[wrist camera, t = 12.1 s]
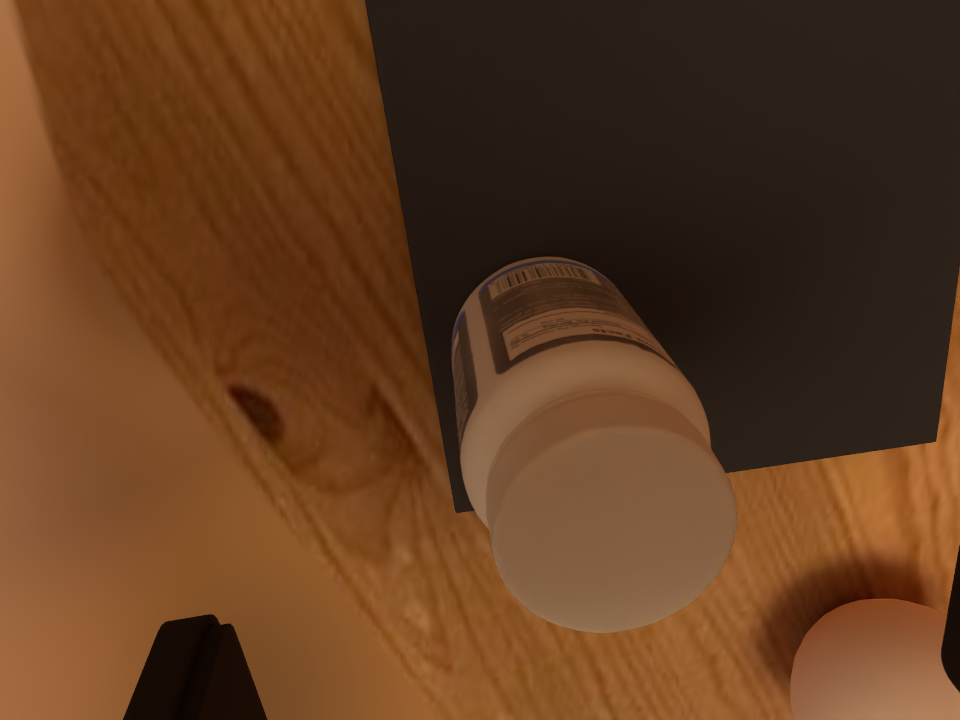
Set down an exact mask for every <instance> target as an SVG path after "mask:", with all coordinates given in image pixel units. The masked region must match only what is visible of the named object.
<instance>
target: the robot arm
mask: <svg viewBox="0 0 960 720" xmlns="http://www.w3.org/2000/svg"><path fill="white" fill-rule="evenodd" d="M941 660H942V664H943V667H944V670H945V672H946V674H947V676H948V678H949V680H950V681H951V682H952V684H953V685H954V686H955V688H956V689H957V690H958V691H959V692H960V546H959V552H958V557H957V563H956V568H955V574H954V580H953V585H952V591H951V597H950V602H949V608H948V614H947V619H946V625H945V630H944V636H943V642H942V647H941ZM123 720H267V717H266V715H265V712H264V709H263V706H262V703H261V701H260V698H259V695H258V693H257V690H256V687H255V684H254V681H253V679H252V676H251V673H250V670H249V668H248V665H247V662H246V659H245V657H244V654H243V651H242V648H241V645H240V643H239V640H238V637H237V635H236V632H235V629H234V627H233V626H232V625H231V624H224V625H220V623H219V622H218V619H217V618H216V617H215V616H214V615H211V614H209V615H203V616H197V617H191V618H185V619H179V620H173V621H168V622H165V623H164V624H163V625H162V626H161V627H160V629H159V631H158V633H157V635H156V638H155V640H154V643H153V646H152V648H151V651H150V653H149V656H148V658H147V661H146V663H145V666H144V668H143V671H142V673H141V676H140V678H139V681H138V683H137V686H136V688H135V691H134V693H133V696H132V698H131V701H130V703H129V706H128V708H127V711H126V713H125V716H124V718H123Z"/></svg>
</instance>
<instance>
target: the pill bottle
mask: <svg viewBox="0 0 960 720" xmlns="http://www.w3.org/2000/svg"><path fill="white" fill-rule="evenodd" d="M451 350H452V371H453V378H454V393H455V401H456V416H457V428H458V438H459V449H460V462H461V469H462V476H463V481H464V484H465V488H466V491H467V494H468V497H469V500H470V502H471V504H472V506H473V508H474V510H475V512H476V513H477V515H478V517H479V518H480V519H481V521H482V522H483V523H484V525H485V526H486V527H487V528H488V529H489V533H490V540H491V548H492V553H493V557H494V560H495V564H496V567H497V569H498V572H499V574H500V576H501V578H502V580H503V582H504V583H505V585H506V586H507V588H508V589H509V591H510V592H511V593H512V594H513V596H514V597H515V598H516V599H517V600H518V601H519V602H520V603H521V604H522V605H523V606H524V607H526V608H527V609H528V610H530V611H531V612H533V613H534V614H536V615H537V616H539V617H541V618H543V619H544V620H546V621H549V622H551V623H553V624H556V625H558V626H561V627H564V628H569V629H573V630H578V631H585V632H595V633H604V632H622V631H626V630H631V629H636V628H640V627H644V626H647V625H649V624H652V623H654V622H656V621H659V620H661V619H664V618H666V617H668V616H670V615H672V614H674V613H676V612H677V611H679V610H681V609H682V608H684V607H685V606H687V605H688V604H690V603H691V602H692V601H694V600H695V599H696V598H697V597H698V596H699V595H701V594H702V593H703V592H704V591H705V590H706V588H707V587H708V586H709V585H710V584H711V583H712V581H713V580H714V579H715V578H716V577H717V575H718V574H719V572H720V571H721V570H722V568H723V566H724V564H725V562H726V560H727V558H728V556H729V554H730V551H731V548H732V545H733V543H734V539H735V534H736V530H737V514H738V512H737V504H736V499H735V494H734V492H733V489H732V486H731V483H730V480H729V478H728V476H727V474H726V473H725V471H724V469H723V467H722V466H721V464H720V463H719V461H718V460H717V458H716V456H715V455H714V453H713V451H712V450H711V442H710V432H709V426H708V421H707V418H706V414H705V411H704V409H703V406H702V404H701V402H700V400H699V398H698V396H697V394H696V391H695V389H694V387H693V386H692V385H691V383H690V382H689V381H688V380H687V378H686V377H685V376H684V375H683V373H682V372H681V371H680V370H679V369H678V367H677V366H676V365H675V363H674V362H673V361H672V359H671V358H670V357H669V355H668V354H667V353H666V351H665V350H664V349H663V347H662V346H661V345H660V344H659V342H658V341H657V340H656V339H655V337H654V336H653V335H652V333H651V332H650V331H649V329H648V328H647V327H646V325H645V324H644V323H643V322H642V320H641V319H640V317H639V316H638V315H637V313H636V312H635V311H634V309H633V308H632V307H631V306H630V304H629V303H628V302H627V300H626V299H625V298H624V296H623V295H622V294H621V292H620V291H619V290H618V289H617V288H616V287H615V285H614V284H613V283H612V282H611V281H609V280H608V279H607V278H606V277H605V276H603V275H602V274H601V273H599V272H598V271H596V270H595V269H593V268H591V267H589V266H587V265H585V264H583V263H580V262H577V261H574V260H571V259H566V258H561V257H536V258H529V259H525V260H521V261H517V262H514V263H512V264H509V265H507V266H505V267H503V268H502V269H500V270H498V271H497V272H495V273H494V274H492V275H491V276H489V277H488V278H487V279H486V280H484V281H483V282H482V283H481V284H480V285H479V286H478V287H477V288H476V289H475V290H474V291H473V292H472V293H471V295H470V296H469V297H468V299H467V300H466V302H465V303H464V305H463V307H462V309H461V310H460V312H459V314H458V317H457V319H456V323H455V326H454V331H453V337H452V347H451Z"/></svg>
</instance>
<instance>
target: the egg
mask: <svg viewBox="0 0 960 720" xmlns="http://www.w3.org/2000/svg"><path fill="white" fill-rule="evenodd" d="M946 619H947V615H945V614H943V613H941V612H939V611H937V610H935V609H932V608H930V607H927V606H923V605H920V604H916V603H913V602H909V601H904V600H899V599H865V600H858V601H854V602H851V603H848V604H844V605H841V606H839V607H838V608H836V609H834V610H832V611H830V612H828V613H827V614H825V615H824V616H823V617H822V618H820V619H819V620H818V621H817V622H816V623H815V624H814V625H813V626H812V627H811V629H810V630H809V631H808V632H807V633H806V635H805V637H804V639H803V641H802V643H801V645H800V647H799V649H798V651H797V653H796V655H795V658H794V663H793V669H792V674H791V680H790V703H791V708H792V713H793V718H794V720H960V692H959V691H958V690H957V689H956V688H955V686H954V685H953V684H952V682H951V681H950V680H949V678H948V676H947V674H946V672H945V670H944V667H943V664H942V660H941V647H942V642H943V636H944V630H945V625H946Z"/></svg>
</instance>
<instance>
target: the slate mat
mask: <svg viewBox="0 0 960 720" xmlns="http://www.w3.org/2000/svg"><path fill="white" fill-rule="evenodd" d="M365 2H366V8H367V14H368V19H369V25H370V31H371V36H372V42H373V48H374V53H375V59H376V65H377V70H378V76H379V82H380V87H381V93H382V99H383V104H384V110H385V116H386V121H387V127H388V133H389V138H390V144H391V149H392V155H393V161H394V166H395V172H396V178H397V183H398V189H399V195H400V200H401V206H402V212H403V217H404V223H405V229H406V234H407V240H408V246H409V251H410V257H411V263H412V268H413V274H414V280H415V285H416V291H417V296H418V302H419V308H420V313H421V319H422V325H423V330H424V336H425V342H426V347H427V353H428V359H429V364H430V370H431V376H432V381H433V387H434V393H435V398H436V404H437V410H438V415H439V421H440V427H441V432H442V438H443V444H444V449H445V455H446V460H447V466H448V472H449V477H450V483H451V489H452V494H453V500H454V506H455V511H456V513H460V512H467V511H473V510H474V508H473V506H472V504H471V502H470V500H469V497H468V494H467V491H466V488H465V484H464V481H463V476H462V469H461V462H460V449H459V438H458V428H457V416H456V401H455V393H454V378H453V371H452V350H451V347H452V337H453V331H454V326H455V323H456V319H457V317H458V314H459V312H460V310H461V309H462V307H463V305H464V303H465V302H466V300H467V299H468V297H469V296H470V295H471V293H472V292H473V291H474V290H475V289H476V288H477V287H478V286H479V285H480V284H481V283H482V282H483V281H484V280H486V279H487V278H488V277H489V276H491V275H492V274H494V273H495V272H497V271H498V270H500V269H502V268H503V267H505V266H507V265H509V264H512V263H514V262H517V261H521V260H525V259H529V258H536V257H561V258H566V259H571V260H574V261H577V262H580V263H583V264H585V265H587V266H589V267H591V268H593V269H595V270H596V271H598V272H599V273H601V274H602V275H603V276H605V277H606V278H607V279H608V280H609V281H611V282H612V283H613V284H614V285H615V287H616V288H617V289H618V290H619V291H620V292H621V294H622V295H623V296H624V298H625V299H626V300H627V302H628V303H629V304H630V306H631V307H632V308H633V309H634V311H635V312H636V313H637V315H638V316H639V317H640V319H641V320H642V322H643V323H644V324H645V325H646V327H647V328H648V329H649V331H650V332H651V333H652V335H653V336H654V337H655V339H656V340H657V341H658V342H659V344H660V345H661V346H662V347H663V349H664V350H665V351H666V353H667V354H668V355H669V357H670V358H671V359H672V361H673V362H674V363H675V365H676V366H677V367H678V369H679V370H680V371H681V372H682V373H683V375H684V376H685V377H686V378H687V380H688V381H689V382H690V383H691V385H692V386H693V387H694V389H695V391H696V394H697V396H698V398H699V400H700V402H701V404H702V406H703V409H704V411H705V414H706V418H707V421H708V426H709V432H710V442H711V450H712V451H713V453H714V455H715V456H716V458H717V460H718V461H719V463H720V464H721V466H722V467H723V469H724V471H725V473H729V472H736V471H743V470H749V469H756V468H763V467H770V466H776V465H783V464H790V463H796V462H803V461H810V460H817V459H823V458H830V457H837V456H844V455H850V454H857V453H864V452H870V451H877V450H884V449H891V448H897V447H904V446H911V445H918V444H924V443H931V442H936V438H937V431H938V423H939V416H940V408H941V401H942V393H943V386H944V378H945V371H946V364H947V356H948V349H949V341H950V334H951V326H952V319H953V312H954V304H955V297H956V289H957V282H958V274H959V267H960V0H365Z"/></svg>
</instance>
